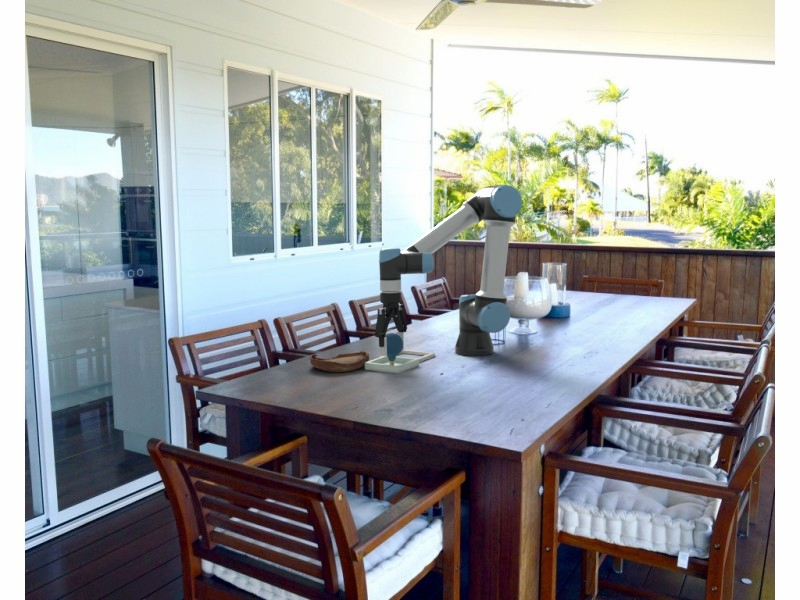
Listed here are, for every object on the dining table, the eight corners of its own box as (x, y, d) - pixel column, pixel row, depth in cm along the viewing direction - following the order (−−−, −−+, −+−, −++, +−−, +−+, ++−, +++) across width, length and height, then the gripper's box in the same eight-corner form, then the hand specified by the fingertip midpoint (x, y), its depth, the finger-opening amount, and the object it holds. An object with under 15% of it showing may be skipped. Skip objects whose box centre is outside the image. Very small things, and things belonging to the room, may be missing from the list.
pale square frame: (435, 356, 268) (435, 353, 268) (414, 364, 255) (414, 360, 255) (401, 352, 276) (401, 349, 276) (379, 359, 263) (379, 356, 263)
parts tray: (418, 365, 252) (418, 358, 252) (398, 373, 240) (398, 366, 240) (386, 361, 260) (386, 355, 259) (364, 369, 248) (364, 362, 248)
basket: (346, 358, 268) (346, 345, 267) (382, 366, 254) (382, 352, 253) (299, 368, 252) (298, 355, 252) (334, 377, 238) (334, 363, 238)
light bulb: (401, 369, 245) (400, 335, 243) (377, 368, 247) (377, 335, 245) (405, 363, 253) (405, 331, 251) (383, 362, 255) (382, 330, 253)
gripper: (398, 287, 258) (399, 346, 261) (363, 294, 239) (364, 357, 242) (416, 288, 254) (417, 348, 257) (381, 295, 235) (382, 360, 238)
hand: (391, 352), depth 249 cm, fingers open, 10 cm apart
